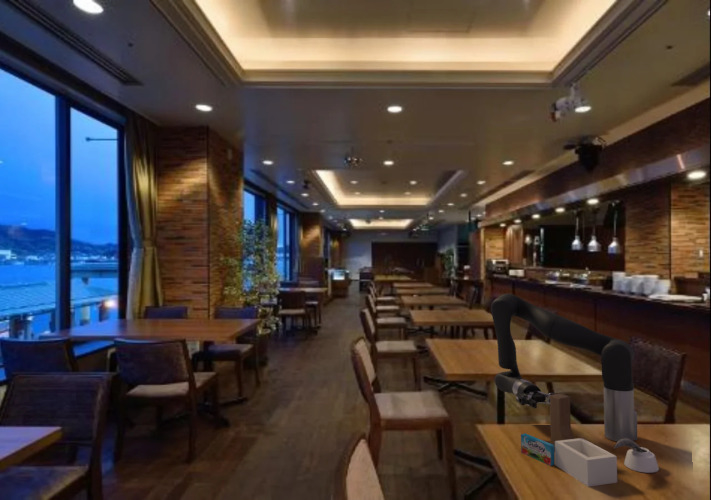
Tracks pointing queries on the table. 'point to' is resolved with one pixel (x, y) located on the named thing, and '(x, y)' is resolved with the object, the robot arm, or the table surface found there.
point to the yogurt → (538, 449)
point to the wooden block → (560, 418)
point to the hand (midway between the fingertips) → (547, 404)
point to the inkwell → (638, 457)
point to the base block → (586, 462)
